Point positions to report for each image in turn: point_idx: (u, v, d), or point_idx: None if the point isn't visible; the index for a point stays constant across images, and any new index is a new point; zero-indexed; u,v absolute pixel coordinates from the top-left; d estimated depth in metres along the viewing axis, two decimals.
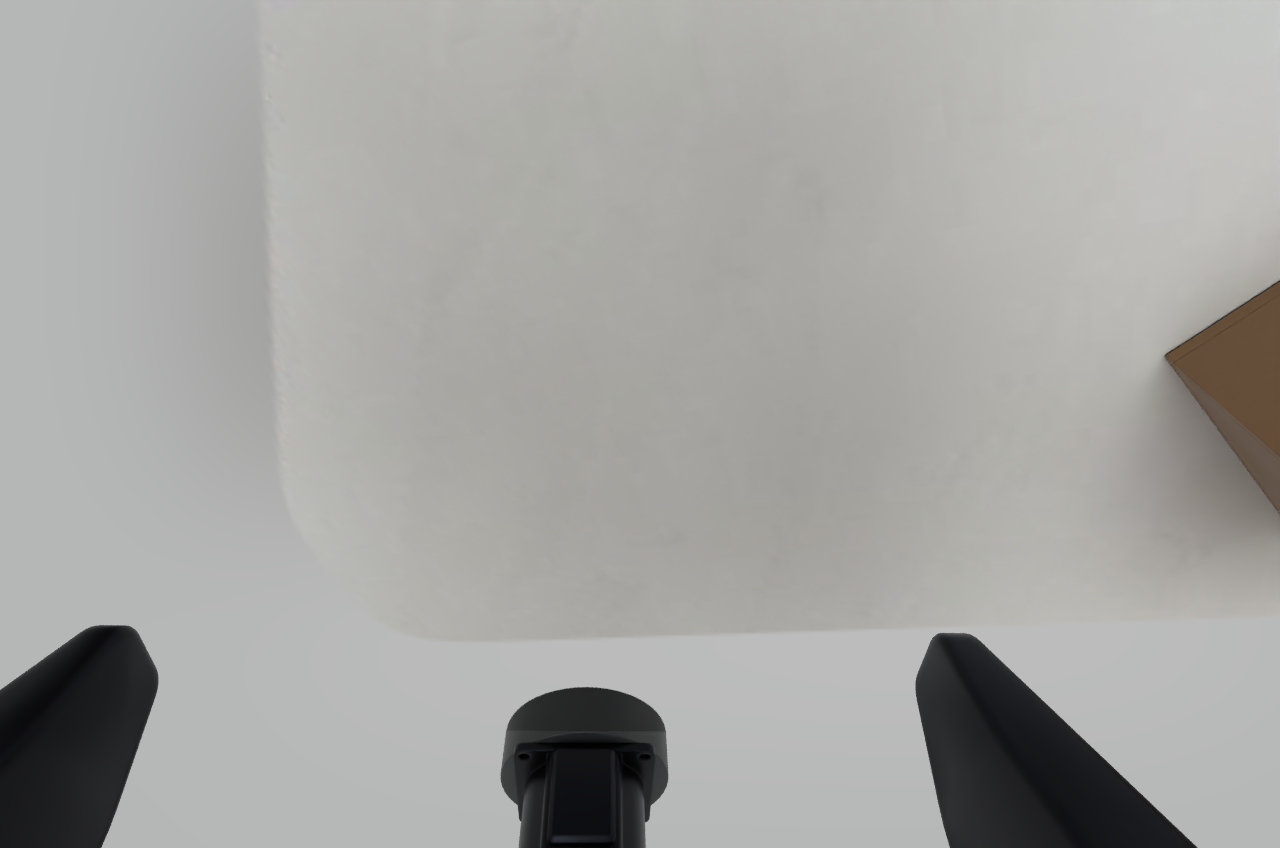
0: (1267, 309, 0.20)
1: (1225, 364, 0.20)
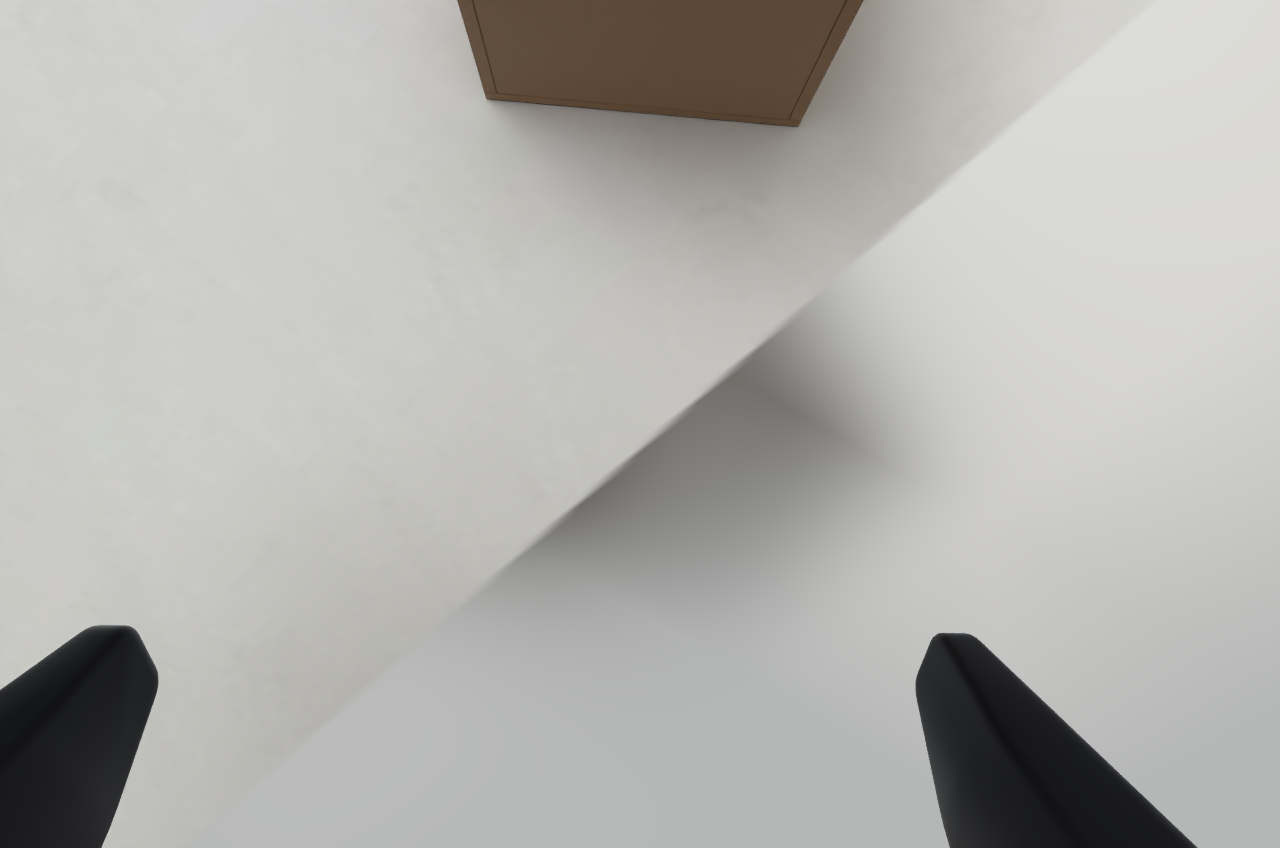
0: None
1: None
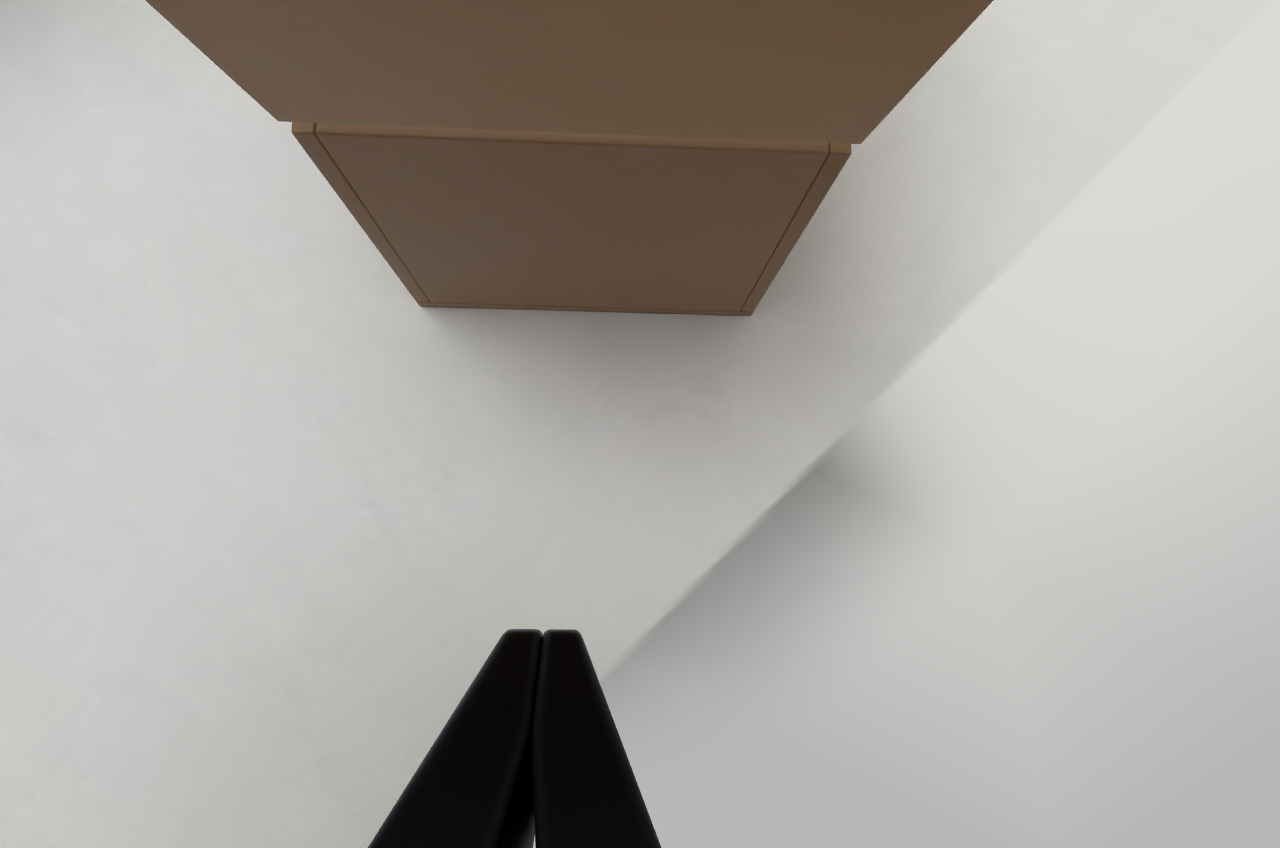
0: None
1: None
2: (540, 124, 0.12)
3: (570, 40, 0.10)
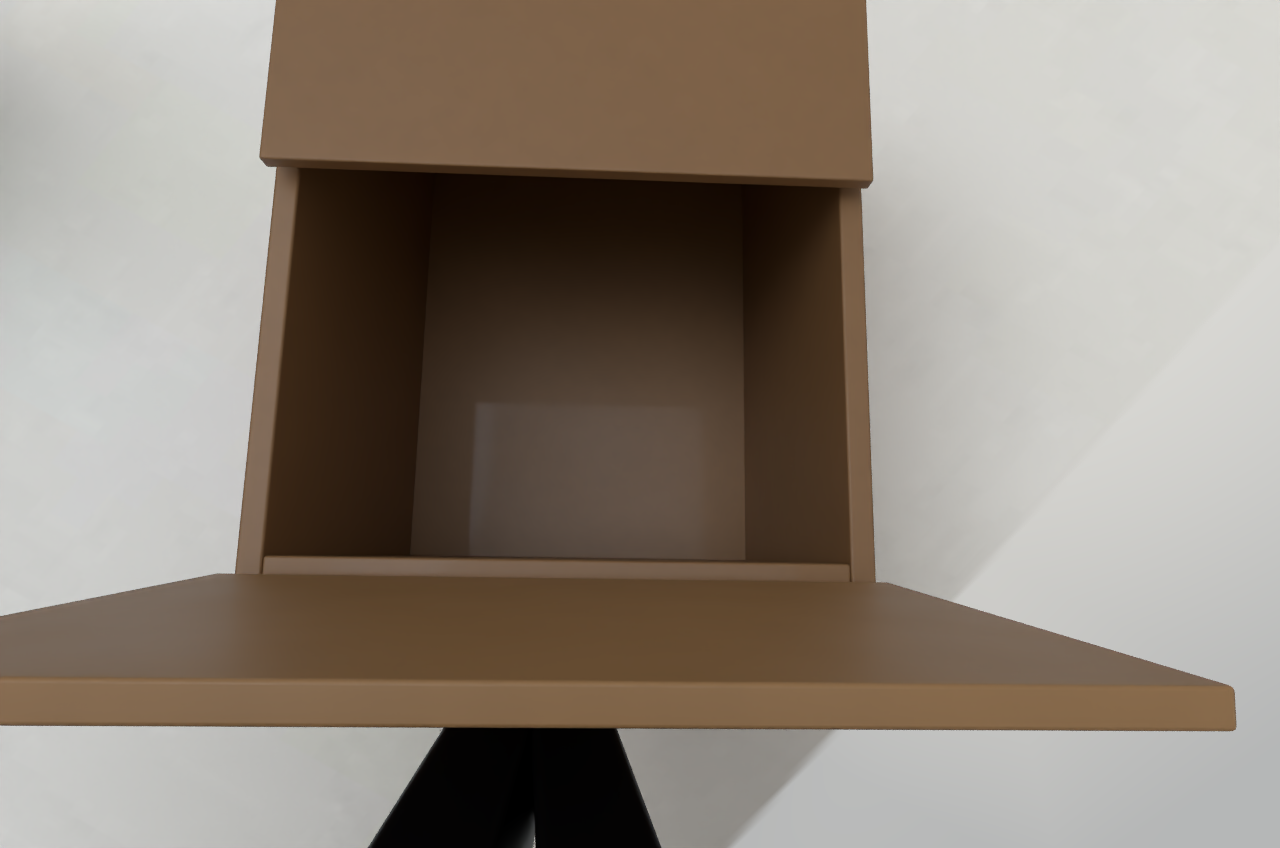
0: None
1: None
2: None
3: None
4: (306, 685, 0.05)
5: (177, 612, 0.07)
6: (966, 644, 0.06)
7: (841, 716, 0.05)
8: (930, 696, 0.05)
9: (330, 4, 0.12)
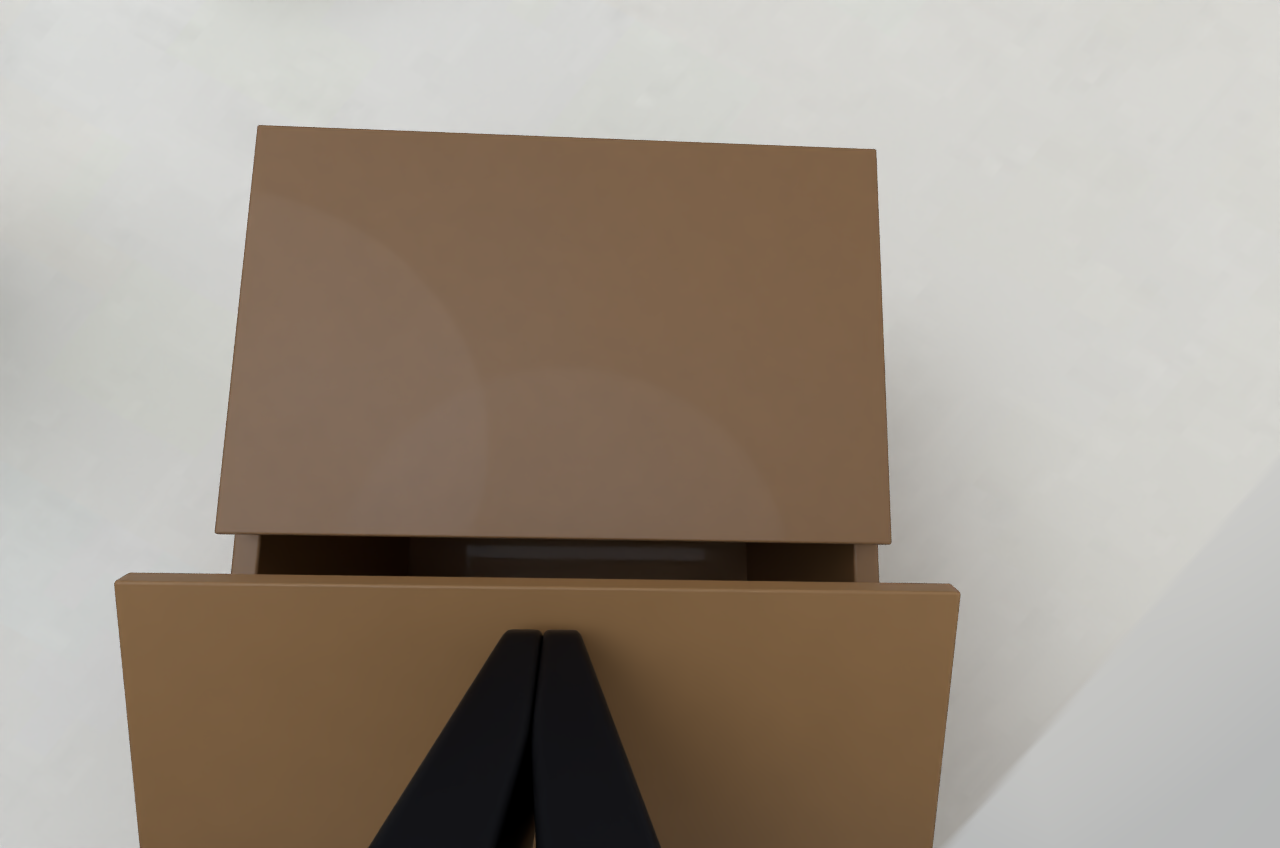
0: None
1: None
2: None
3: None
4: (445, 577, 0.09)
5: None
6: None
7: (735, 583, 0.09)
8: (784, 585, 0.09)
9: (294, 348, 0.11)
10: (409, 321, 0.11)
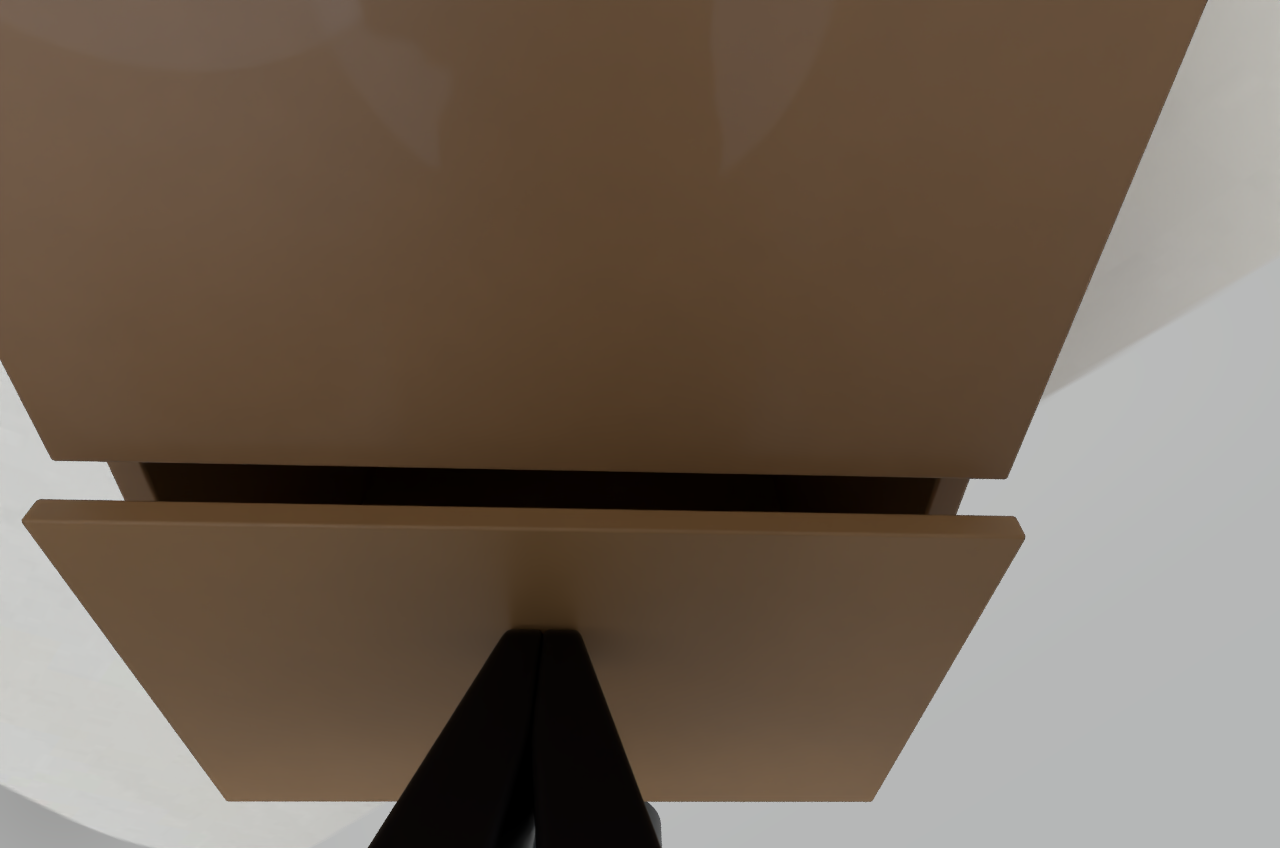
0: None
1: None
2: None
3: None
4: (416, 507, 0.08)
5: None
6: None
7: (760, 522, 0.08)
8: (818, 519, 0.08)
9: (27, 196, 0.06)
10: (223, 144, 0.06)
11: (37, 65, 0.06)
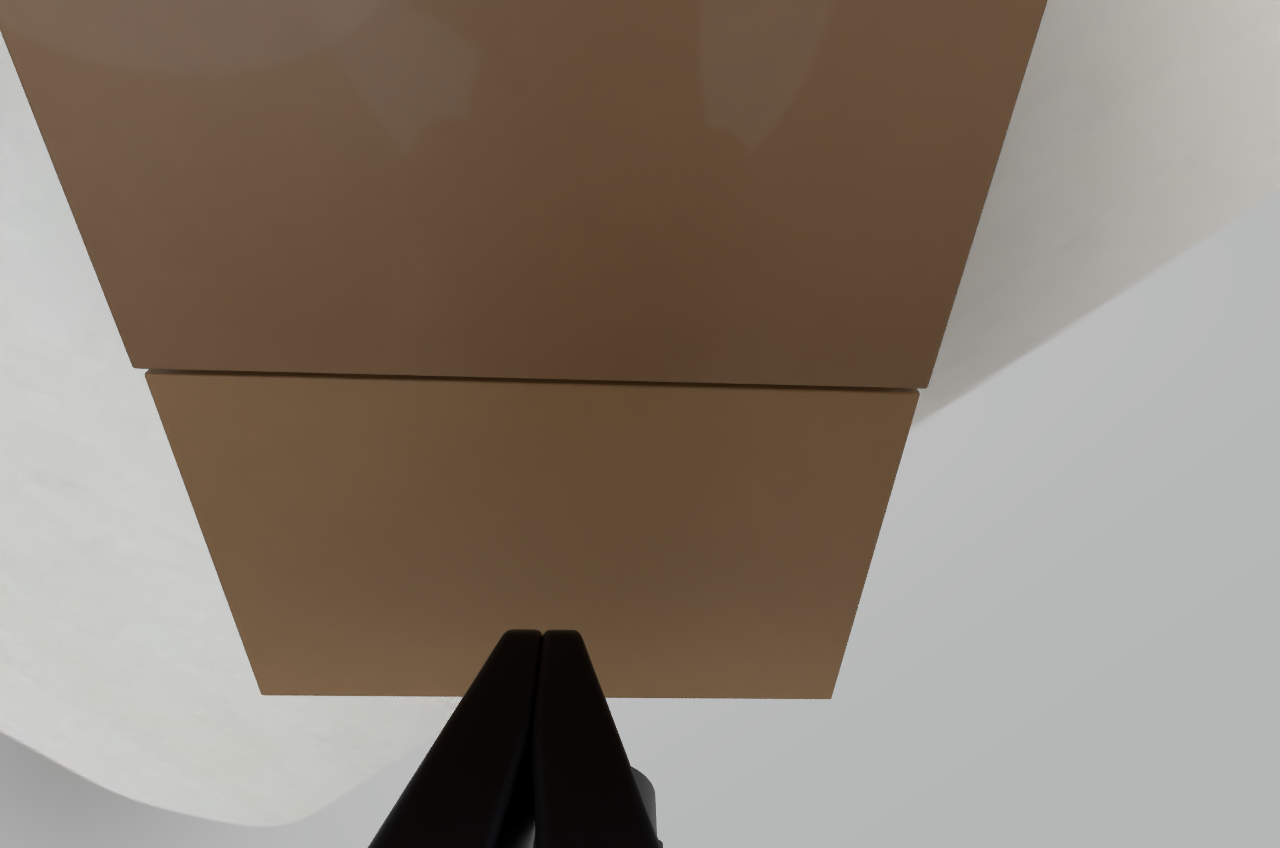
0: None
1: None
2: None
3: (552, 563, 0.11)
4: None
5: None
6: None
7: None
8: None
9: (131, 139, 0.08)
10: (288, 96, 0.07)
11: (147, 33, 0.07)
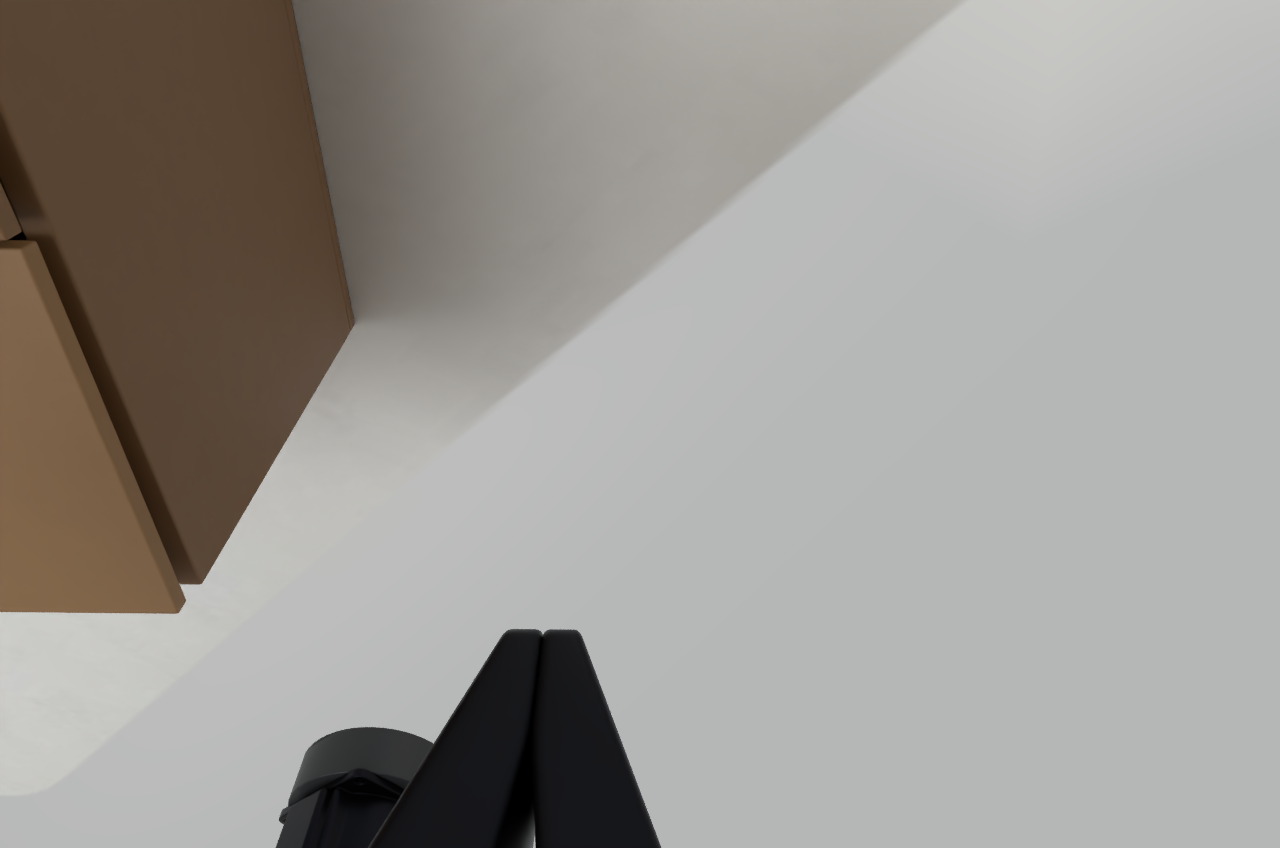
0: None
1: None
2: None
3: None
4: None
5: None
6: None
7: None
8: None
9: None
10: None
11: None
